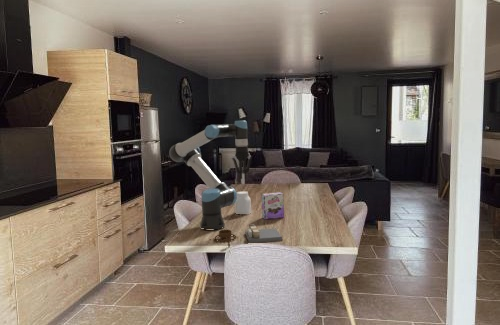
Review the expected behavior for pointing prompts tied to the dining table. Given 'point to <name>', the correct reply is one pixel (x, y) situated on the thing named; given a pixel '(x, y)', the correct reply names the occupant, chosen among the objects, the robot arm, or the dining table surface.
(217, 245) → the dining table surface
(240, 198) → the jar
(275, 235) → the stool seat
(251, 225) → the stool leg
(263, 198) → the candy box
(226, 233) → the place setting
